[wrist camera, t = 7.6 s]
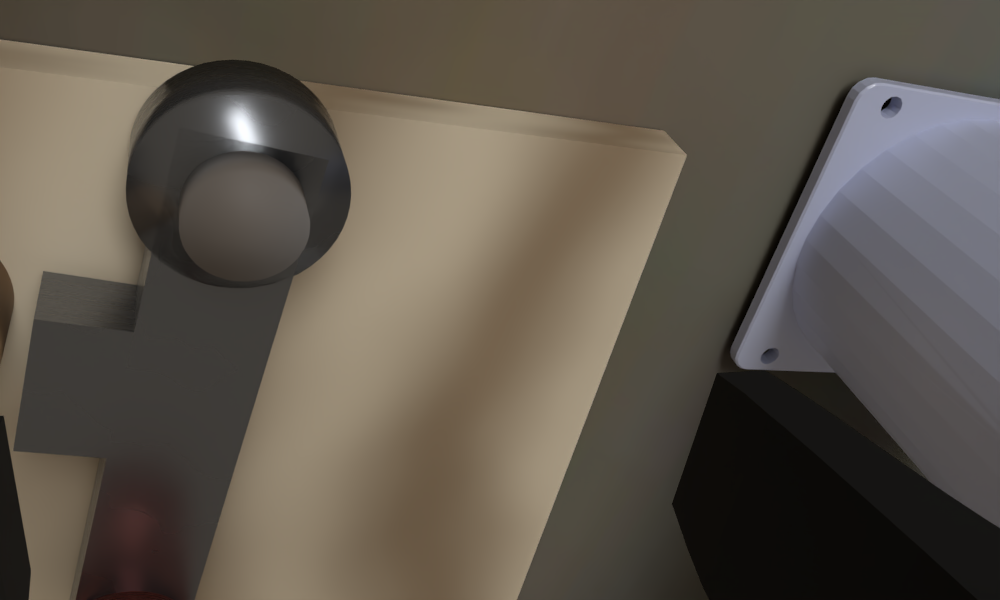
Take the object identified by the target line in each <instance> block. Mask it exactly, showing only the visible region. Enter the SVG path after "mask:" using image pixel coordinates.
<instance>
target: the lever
mask: <svg viewBox="0 0 1000 600" xmlns="http://www.w3.org/2000/svg"><path fill="white" fill-rule="evenodd" d="M233 151H251V152H257V153H261V154H265V155H268V156H270V157H272V158H275V159H276V160H278V161H280V162H281V163H283V164H284V165H285V166H287V167H288V168H289V169H290V170H291V171H292V172H293V173H294V175H295V176H296V177H297V178H298V180H299V182H300V184H301V186H302V189H303V191H304V195H305V200H306V204H307V209H308V213H309V218H310V234H309V238H308V241H307V244H306V246H305V248H304V250H303V252H302V253H301V255H300V256H299V257H298V259H297V260H296V261H295V262H294V263H293V264H292V265H290V266H289V267H288V268H286V269H285V270H283V271H282V272H280V273H278V274H276V275H274V276H271V277H268V278H265V279H261V280H256V281H231V280H227V279H222V278H220V277H217V276H214V275H212V274H210V273H208V272H206V271H205V270H203V269H202V268H200V267H199V266H198V265H197V264H196V263H195V262H194V261H193V260H192V259H191V258H190V257H189V255H188V254H187V253H186V251H185V249H184V247H183V245H182V242H181V239H180V234H179V197H180V192H181V189H182V187H183V185H184V183H185V181H186V179H187V178H188V176H189V175H190V174H191V173H192V171H193V170H194V169H195V168H196V167H198V166H199V165H200V164H201V163H203V162H205V161H206V160H208V159H210V158H212V157H214V156H217V155H220V154H223V153H227V152H233ZM350 202H351V181H350V176H349V172H348V168H347V164H346V161H345V158H344V155H343V152H342V148H341V145H340V142H339V139H338V135H337V132H336V129H335V127H334V124H333V121H332V119H331V117H330V115H329V113H328V111H327V109H326V108H325V107H324V105H323V104H322V102H321V101H320V100H319V98H318V97H317V96H316V95H315V94H314V93H313V92H312V91H311V90H310V89H309V88H308V87H306V86H305V85H304V84H303V83H301V82H300V81H299V80H297V79H296V78H294V77H292V76H291V75H289V74H287V73H285V72H283V71H281V70H279V69H277V68H274V67H271V66H268V65H265V64H261V63H256V62H251V61H242V60H221V61H214V62H208V63H203V64H200V65H197V66H194V67H190V68H188V69H186V70H184V71H182V72H180V73H177V74H176V75H174V76H173V77H171V78H170V79H168V80H166V81H165V82H164V83H163V84H162V85H160V86H159V87H158V88H157V89H156V90H155V91H154V92H153V93H152V94H151V95H150V96H149V98H148V99H147V100H146V101H145V103H144V104H143V106H142V107H141V109H140V111H139V113H138V115H137V117H136V119H135V122H134V124H133V128H132V132H131V136H130V145H129V156H128V168H127V180H126V203H127V207H128V212H129V216H130V219H131V221H132V224H133V227H134V229H135V230H136V232H137V234H138V236H139V238H140V239H141V241H142V242H143V243H144V245H145V249H144V254H143V259H142V263H141V268H140V273H139V277H138V282H137V285H133V284H127V283H120V282H113V281H107V280H100V279H93V278H87V277H80V276H73V275H67V274H60V273H53V272H47V271H43V275H42V280H41V285H40V290H39V295H38V300H37V305H36V310H35V315H34V320H33V327H32V333H31V339H30V346H29V352H28V359H27V365H26V371H25V378H24V384H23V391H22V397H21V403H20V410H19V416H18V422H17V429H16V435H15V442H14V448H13V451H18V452H31V453H44V454H56V455H69V456H82V457H95V458H100V459H99V464H98V468H97V473H96V478H95V482H94V487H93V492H92V496H91V501H90V506H89V510H88V515H87V520H86V524H85V529H84V534H83V538H82V543H81V548H80V552H79V557H78V562H77V566H76V571H75V575H74V580H73V585H72V589H71V594H70V599H69V600H195V597H196V594H197V590H198V587H199V584H200V581H201V577H202V574H203V571H204V567H205V564H206V561H207V558H208V554H209V551H210V548H211V545H212V541H213V538H214V535H215V532H216V528H217V525H218V522H219V518H220V515H221V512H222V509H223V505H224V502H225V499H226V496H227V492H228V489H229V486H230V482H231V479H232V476H233V473H234V469H235V466H236V463H237V460H238V456H239V453H240V450H241V446H242V443H243V440H244V437H245V433H246V430H247V427H248V424H249V420H250V417H251V414H252V410H253V407H254V404H255V401H256V397H257V394H258V391H259V388H260V384H261V381H262V378H263V374H264V371H265V368H266V365H267V361H268V358H269V355H270V352H271V348H272V345H273V342H274V338H275V335H276V332H277V329H278V325H279V322H280V319H281V316H282V312H283V309H284V306H285V302H286V299H287V296H288V293H289V289H290V286H291V283H292V280H293V276H295V275H297V274H299V273H301V272H302V271H304V270H306V269H307V268H309V267H310V266H312V265H313V264H314V263H315V262H317V261H318V260H319V259H320V258H321V257H322V256H323V255H324V254H325V253H326V252H327V251H328V250H329V249H330V248H331V247H332V245H333V244H334V243H335V241H336V240H337V238H338V237H339V235H340V233H341V231H342V230H343V227H344V225H345V222H346V220H347V217H348V213H349V209H350Z"/></svg>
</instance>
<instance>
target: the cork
mask: <svg viewBox="0 0 1000 600" xmlns="http://www.w3.org/2000/svg"><path fill="white" fill-rule="evenodd" d="M13 308H14V290H13V285H12V282H11V279H10V276H9V274H8V272H7V270H6V268H5V267H4V265H3V264H2V262H1V261H0V364H1V360H2V356H3V351H4V347H5V343H6V338H7V334H8V330H9V326H10V321H11V317H12V313H13Z"/></svg>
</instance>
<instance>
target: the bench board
mask: <svg viewBox="0 0 1000 600" xmlns="http://www.w3.org/2000/svg"><path fill="white" fill-rule="evenodd" d="M190 67H194V66H189V65H182V64H175V63H168V62H160V61H153V60H146V59H139V58H131V57H124V56H117V55H109V54H102V53H95V52H88V51H80V50H73V49H66V48H59V47H51V46H44V45H37V44H29V43H22V42H15V41H8V40H0V261H1V262H2V264H3V265H4V267H5V268H6V270H7V272H8V274H9V276H10V279H11V282H12V285H13V290H14V308H13V313H12V317H11V321H10V326H9V330H8V334H7V338H6V343H5V347H4V351H3V356H2V360H1V364H0V416H4V420H5V426H6V432H7V437H8V443H9V449H10V454H11V460H12V466H13V471H14V477H15V482H16V488H17V494H18V499H19V505H20V511H21V516H22V522H23V528H24V533H25V539H26V545H27V550H28V556H29V562H30V567H31V578H30V590H29V600H69V599H70V594H71V589H72V585H73V580H74V575H75V571H76V566H77V562H78V557H79V552H80V548H81V543H82V538H83V534H84V529H85V524H86V520H87V515H88V510H89V506H90V501H91V496H92V492H93V487H94V482H95V478H96V473H97V468H98V464H99V459H100V458H95V457H82V456H69V455H56V454H44V453H31V452H18V451H13V448H14V442H15V435H16V429H17V422H18V416H19V410H20V403H21V397H22V391H23V384H24V378H25V371H26V365H27V359H28V352H29V346H30V339H31V333H32V327H33V320H34V315H35V310H36V305H37V300H38V295H39V290H40V285H41V280H42V275H43V271H47V272H53V273H60V274H67V275H73V276H80V277H87V278H93V279H100V280H107V281H113V282H120V283H127V284H133V285H137V282H138V277H139V273H140V268H141V263H142V259H143V254H144V249H145V245H144V243H143V242H142V241H141V239H140V238H139V236H138V234H137V232H136V230H135V229H134V227H133V224H132V221H131V219H130V216H129V212H128V207H127V203H126V180H127V168H128V156H129V145H130V136H131V132H132V128H133V124H134V122H135V119H136V117H137V115H138V113H139V111H140V109H141V107H142V106H143V104H144V103H145V101H146V100H147V99H148V98H149V96H150V95H151V94H152V93H153V92H154V91H155V90H156V89H157V88H158V87H159V86H160V85H162V84H163V83H164V82H165V81H166V80H168V79H170V78H171V77H173V76H174V75H176V74H177V73H180V72H182V71H184V70H186V69H188V68H190ZM300 82H301V83H303V84H304V85H305V86H306V87H308V88H309V89H310V90H311V91H312V92H313V93H314V94H315V95H316V96H317V97H318V98H319V100H320V101H321V102H322V104H323V105H324V107H325V108H326V109H327V111H328V113H329V115H330V117H331V119H332V121H333V124H334V127H335V129H336V132H337V135H338V139H339V142H340V145H341V148H342V152H343V155H344V158H345V161H346V164H347V168H348V172H349V176H350V181H351V202H350V209H349V213H348V217H347V220H346V222H345V225H344V227H343V230H342V231H341V233H340V235H339V237H338V238H337V240H336V241H335V243H334V244H333V245H332V247H331V248H330V249H329V250H328V251H327V252H326V253H325V254H324V255H323V256H322V257H321V258H320V259H319V260H318V261H317V262H315V263H314V264H313V265H312V266H310V267H309V268H307V269H306V270H304V271H302V272H301V273H299V274H297V275H295V276H293V280H292V283H291V286H290V289H289V293H288V296H287V299H286V302H285V306H284V309H283V312H282V316H281V319H280V322H279V325H278V329H277V332H276V335H275V338H274V342H273V345H272V348H271V352H270V355H269V358H268V361H267V365H266V368H265V371H264V374H263V378H262V381H261V384H260V388H259V391H258V394H257V397H256V401H255V404H254V407H253V410H252V414H251V417H250V420H249V424H248V427H247V430H246V433H245V437H244V440H243V443H242V446H241V450H240V453H239V456H238V460H237V463H236V466H235V469H234V473H233V476H232V479H231V482H230V486H229V489H228V492H227V496H226V499H225V502H224V505H223V509H222V512H221V515H220V518H219V522H218V525H217V528H216V532H215V535H214V538H213V541H212V545H211V548H210V551H209V554H208V558H207V561H206V564H205V567H204V571H203V574H202V577H201V581H200V584H199V587H198V590H197V594H196V597H195V600H517V598H518V595H519V593H520V590H521V587H522V585H523V582H524V580H525V577H526V574H527V572H528V569H529V567H530V564H531V561H532V559H533V556H534V554H535V551H536V548H537V546H538V543H539V540H540V538H541V535H542V533H543V530H544V527H545V525H546V522H547V520H548V517H549V514H550V512H551V509H552V506H553V504H554V501H555V499H556V496H557V493H558V491H559V488H560V486H561V483H562V480H563V478H564V475H565V472H566V470H567V467H568V465H569V462H570V459H571V457H572V454H573V452H574V449H575V446H576V444H577V441H578V439H579V436H580V433H581V431H582V428H583V425H584V423H585V420H586V418H587V415H588V412H589V410H590V407H591V405H592V402H593V399H594V397H595V394H596V391H597V389H598V386H599V384H600V381H601V378H602V376H603V373H604V371H605V368H606V365H607V363H608V360H609V357H610V355H611V352H612V350H613V347H614V344H615V342H616V339H617V337H618V334H619V331H620V329H621V326H622V324H623V321H624V318H625V316H626V313H627V310H628V308H629V305H630V303H631V300H632V297H633V295H634V292H635V290H636V287H637V284H638V282H639V279H640V276H641V274H642V271H643V269H644V266H645V263H646V261H647V258H648V256H649V253H650V250H651V248H652V245H653V242H654V240H655V237H656V235H657V232H658V229H659V227H660V224H661V222H662V219H663V216H664V214H665V211H666V209H667V206H668V203H669V201H670V198H671V195H672V193H673V190H674V188H675V185H676V182H677V180H678V177H679V175H680V172H681V169H682V167H683V164H684V161H685V159H686V156H687V155H686V154H685V153H684V152H683V151H682V149H681V148H680V147H679V146H678V145H677V144H676V143H675V142H674V141H673V140H672V139H671V138H670V137H669V136H668V135H667V133H666V132H665V131H662V130H655V129H648V128H640V127H633V126H626V125H619V124H611V123H604V122H597V121H590V120H582V119H575V118H568V117H560V116H553V115H546V114H539V113H531V112H524V111H517V110H510V109H502V108H495V107H488V106H480V105H473V104H466V103H459V102H451V101H444V100H437V99H430V98H422V97H415V96H408V95H400V94H393V93H386V92H379V91H371V90H364V89H357V88H350V87H342V86H335V85H328V84H320V83H313V82H306V81H300ZM179 234H180V239H181V242H182V245H183V247H184V249H185V251H186V253H187V254H188V255H189V257H190V258H191V259H192V260H193V261H194V262H195V263H196V264H197V265H198V266H199V267H200V268H202V269H203V270H205V271H206V272H208V273H210V274H212V275H214V276H217V277H220V278H222V279H227V280H231V281H256V280H261V279H265V278H268V277H271V276H274V275H276V274H278V273H280V272H282V271H283V270H285V269H286V268H288V267H289V266H290V265H292V264H293V263H294V262H295V261H296V260H297V259H298V257H299V256H300V255H301V253H302V252H303V250H304V248H305V246H306V244H307V241H308V238H309V234H310V218H309V213H308V209H307V204H306V200H305V195H304V191H303V189H302V186H301V184H300V182H299V180H298V178H297V177H296V176H295V175H294V173H293V172H292V171H291V170H290V169H289V168H288V167H287V166H285V165H284V164H283V163H281V162H280V161H278V160H276V159H275V158H272V157H270V156H268V155H265V154H261V153H257V152H251V151H233V152H227V153H223V154H220V155H217V156H214V157H212V158H210V159H208V160H206V161H205V162H203V163H201V164H200V165H199V166H198V167H196V168H195V169H194V170H193V171H192V173H191V174H190V175H189V176H188V178H187V179H186V181H185V183H184V185H183V187H182V189H181V192H180V197H179Z"/></svg>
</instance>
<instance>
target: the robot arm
mask: <svg viewBox="0 0 1000 600" xmlns="http://www.w3.org/2000/svg"><path fill="white" fill-rule="evenodd" d="M891 97H892V98H891ZM889 98H891V102H890V103H889V105H888V106H887V107H886V108H885V109H883V110H882V111H881V108H882V105H883V104H884V103H885V101H886V100H888V99H889ZM768 349H769V351H768V352H766V353H764V352H765V351H766V350H768ZM763 353H764V354H763ZM730 355H731V358H732V359H733V361H734V362H735V363H736V365H737V366H738V367H740V368H742V369H749V370H763V371H746V372H729V373H717V375H716V378H715V381H714V383H713V386H712V389H711V392H710V395H709V398H708V401H707V404H706V407H705V410H704V413H703V415H702V418H701V421H700V424H699V427H698V430H697V433H696V436H695V439H694V442H693V445H692V447H691V450H690V453H689V456H688V459H687V462H686V465H685V468H684V471H683V474H682V476H681V479H680V482H679V485H678V488H677V491H676V494H675V497H674V500H673V503H672V505H673V508H674V511H675V513H676V516H677V519H678V522H679V525H680V528H681V531H682V534H683V536H684V539H685V542H686V545H687V548H688V550H689V553H690V556H691V558H692V561H693V563H694V566H695V568H696V571H697V573H698V576H699V579H700V581H701V584H702V586H703V588H704V590H705V592H706V594H707V596H708V598H709V600H1000V99H994V98H989V97H983V96H977V95H972V94H966V93H960V92H954V91H949V90H943V89H937V88H932V87H926V86H920V85H915V84H909V83H903V82H898V81H892V80H886V79H881V78H875V77H874V78H866V79H864V80H861V81H859V82H858V83H857V84H856V85H855V86H853V87H852V89H851V90H850V92H849V93H848V95H847V97H846V99H845V101H844V103H843V105H842V108H841V110H840V112H839V114H838V116H837V118H836V121H835V123H834V125H833V127H832V129H831V131H830V134H829V136H828V138H827V140H826V142H825V144H824V147H823V149H822V151H821V153H820V155H819V157H818V160H817V162H816V164H815V166H814V168H813V170H812V173H811V175H810V177H809V179H808V181H807V183H806V186H805V188H804V190H803V192H802V194H801V197H800V199H799V201H798V203H797V205H796V207H795V210H794V212H793V214H792V216H791V218H790V220H789V223H788V225H787V227H786V229H785V231H784V233H783V236H782V238H781V240H780V242H779V244H778V246H777V249H776V251H775V253H774V255H773V257H772V259H771V262H770V264H769V266H768V268H767V270H766V272H765V275H764V277H763V279H762V281H761V283H760V285H759V288H758V290H757V292H756V294H755V296H754V299H753V301H752V303H751V305H750V307H749V309H748V312H747V314H746V316H745V318H744V320H743V322H742V325H741V327H740V329H739V331H738V333H737V335H736V338H735V340H734V342H733V344H732V346H731V350H730ZM765 370H776V371H803V372H831V373H836V374H837V375H838V376H839V377H840V378H841V379H842V381H843V382H844V383H845V384H846V385H847V386H848V388H849V389H850V390H851V391H852V392H853V393H854V395H855V396H856V397H857V398H858V399H859V400H860V401H861V403H862V404H863V405H864V406H865V407H866V408H867V410H868V411H869V412H870V413H871V414H872V415H873V416H874V418H875V419H876V420H877V421H878V422H879V423H880V425H881V426H882V427H883V428H884V429H885V430H886V431H887V433H888V434H889V435H890V436H891V437H892V438H893V440H894V441H895V442H896V443H897V444H898V445H899V446H900V448H901V449H902V450H903V451H904V452H905V453H906V455H907V456H908V457H909V458H910V459H911V460H912V461H913V463H914V464H915V465H916V466H917V467H918V468H919V470H920V471H921V472H922V473H923V474H924V475H925V476H926V478H927V479H928V480H929V481H930V482H929V481H928V480H926V479H925V478H923V477H922V476H920V475H919V474H917V473H916V472H915V471H913V470H912V469H910V468H909V467H907V466H906V465H904V464H903V463H901V462H900V461H899V460H897V459H896V458H894V457H893V456H891V455H890V454H889V453H887V452H886V451H884V450H883V449H881V448H880V447H878V446H877V445H876V444H874V443H873V442H871V441H870V440H868V439H867V438H866V437H864V436H863V435H861V434H860V433H858V432H857V431H856V430H854V429H853V428H851V427H850V426H848V425H847V424H846V423H844V422H843V421H841V420H840V419H838V418H837V417H835V416H834V415H833V414H831V413H830V412H828V411H827V410H825V409H824V408H822V407H821V406H819V405H818V404H816V403H815V402H814V401H812V400H811V399H809V398H808V397H806V396H805V395H803V394H802V393H800V392H799V391H797V390H796V389H794V388H792V387H791V386H789V385H788V384H786V383H785V382H783V381H781V380H780V379H778V378H776V377H775V376H773V375H772V374H770V373H768V372H766V371H765ZM30 578H31V567H30V562H29V556H28V550H27V545H26V539H25V533H24V528H23V522H22V516H21V511H20V505H19V499H18V494H17V488H16V482H15V477H14V471H13V466H12V460H11V454H10V449H9V443H8V437H7V432H6V426H5V420H4V416H0V600H29V590H30Z"/></svg>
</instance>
